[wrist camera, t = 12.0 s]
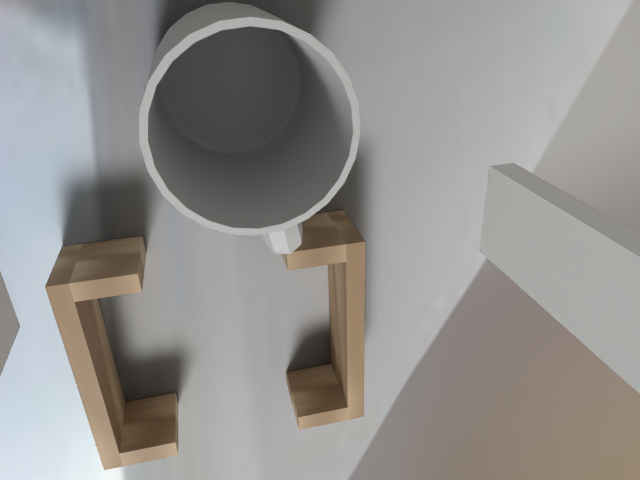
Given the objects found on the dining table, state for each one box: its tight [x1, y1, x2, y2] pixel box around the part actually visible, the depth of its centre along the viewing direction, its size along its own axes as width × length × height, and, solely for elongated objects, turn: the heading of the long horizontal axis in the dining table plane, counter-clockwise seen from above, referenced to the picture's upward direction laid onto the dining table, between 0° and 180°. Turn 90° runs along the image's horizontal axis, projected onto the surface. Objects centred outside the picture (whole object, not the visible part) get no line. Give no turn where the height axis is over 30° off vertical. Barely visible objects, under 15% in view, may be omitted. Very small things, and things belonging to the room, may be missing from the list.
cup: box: [139, 2, 361, 254], centre depth 22 cm, size 7×10×9 cm
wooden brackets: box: [45, 210, 365, 470], centre depth 30 cm, size 15×12×4 cm
